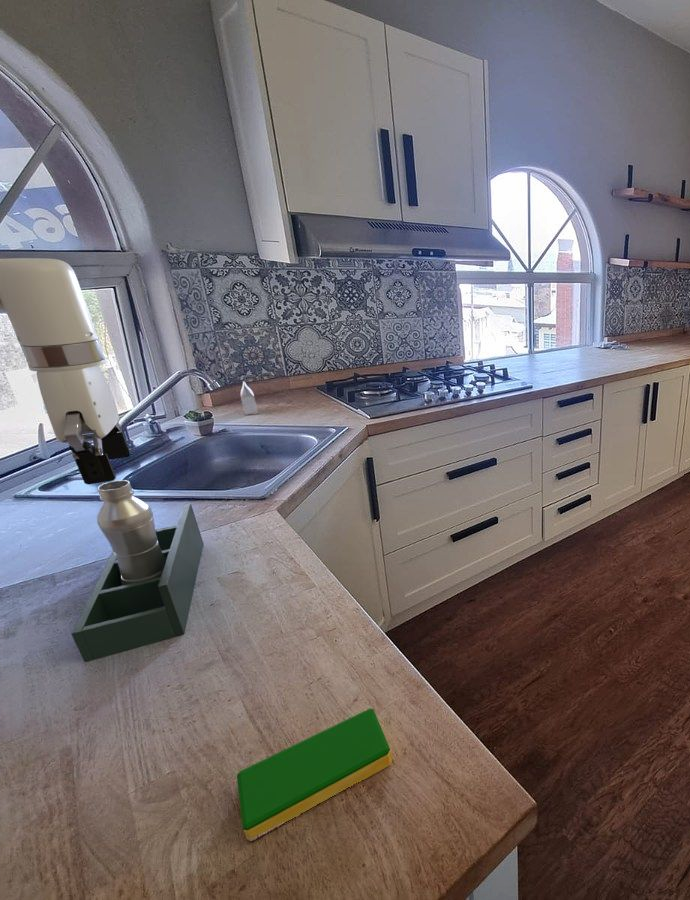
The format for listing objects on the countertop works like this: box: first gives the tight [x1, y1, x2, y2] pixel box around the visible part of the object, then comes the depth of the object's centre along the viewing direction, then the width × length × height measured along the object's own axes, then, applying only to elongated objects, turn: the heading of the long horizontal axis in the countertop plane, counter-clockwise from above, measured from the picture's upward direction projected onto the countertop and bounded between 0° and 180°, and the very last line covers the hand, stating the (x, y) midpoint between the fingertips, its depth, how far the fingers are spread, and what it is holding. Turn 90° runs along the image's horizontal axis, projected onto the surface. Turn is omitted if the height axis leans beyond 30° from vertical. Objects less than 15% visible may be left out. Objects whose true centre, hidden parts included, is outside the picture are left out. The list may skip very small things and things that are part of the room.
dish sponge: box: [236, 708, 393, 839], centre depth 55 cm, size 7×14×2 cm, turn 128°
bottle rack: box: [71, 502, 204, 663], centre depth 81 cm, size 11×28×9 cm, turn 31°
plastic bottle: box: [96, 479, 166, 586], centre depth 79 cm, size 6×7×20 cm
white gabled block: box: [239, 380, 259, 416], centre depth 169 cm, size 4×7×10 cm, turn 35°
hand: (109, 469), depth 74 cm, fingers open, 9 cm apart
